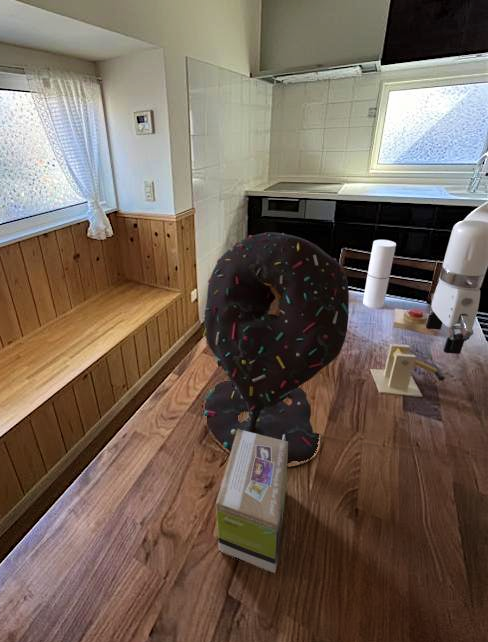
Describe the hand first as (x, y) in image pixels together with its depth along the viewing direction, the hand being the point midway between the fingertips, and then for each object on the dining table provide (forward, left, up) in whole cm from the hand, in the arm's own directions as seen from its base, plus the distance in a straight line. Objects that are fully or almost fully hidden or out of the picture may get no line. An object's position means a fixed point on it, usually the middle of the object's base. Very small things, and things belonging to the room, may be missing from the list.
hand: (441, 340), depth 82 cm
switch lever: (+3, -1, -10) cm, 10 cm away
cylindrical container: (+1, -47, -17) cm, 49 cm away
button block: (-8, -34, -17) cm, 38 cm away
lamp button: (-8, -33, -13) cm, 37 cm away
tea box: (+43, +39, -17) cm, 61 cm away
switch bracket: (+7, -2, -17) cm, 18 cm away
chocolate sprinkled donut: (+42, +13, -17) cm, 47 cm away
